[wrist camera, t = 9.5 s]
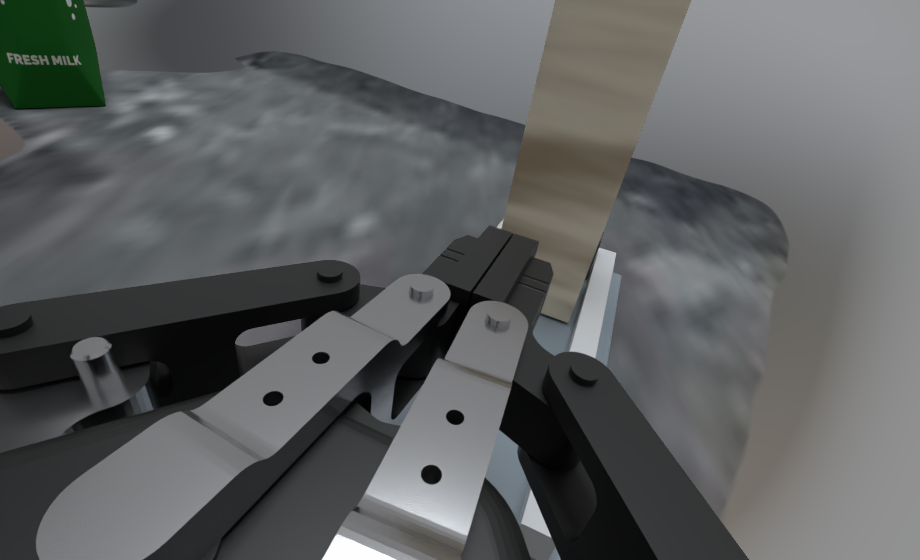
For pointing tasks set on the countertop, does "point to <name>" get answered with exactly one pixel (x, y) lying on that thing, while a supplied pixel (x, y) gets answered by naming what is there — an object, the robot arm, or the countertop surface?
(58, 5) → the milk carton
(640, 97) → the block
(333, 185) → the countertop surface
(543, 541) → the chute
